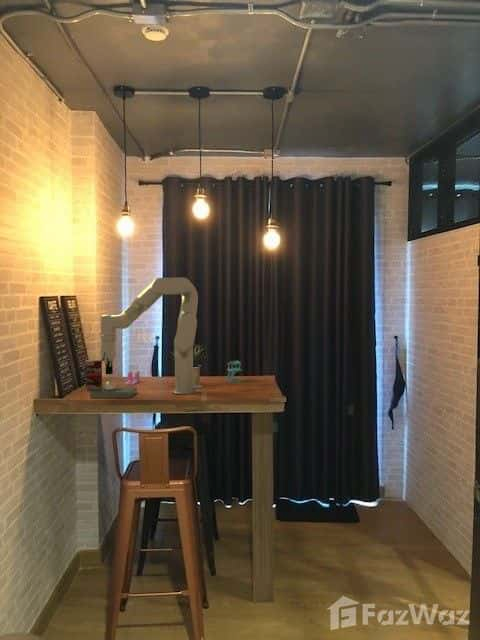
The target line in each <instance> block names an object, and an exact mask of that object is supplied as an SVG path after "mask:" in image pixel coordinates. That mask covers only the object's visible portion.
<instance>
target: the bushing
mask: <svg viewBox="0 0 480 640" xmlns="http://www.w3.org/2000/svg"><path fill="white" fill-rule="evenodd" d="M104 387H105V391H113V390H115V387H116V381H115V380H114V381H113V380H110V381H104Z"/></svg>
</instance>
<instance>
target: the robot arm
mask: <svg viewBox="0 0 480 640" xmlns="http://www.w3.org/2000/svg"><path fill="white" fill-rule="evenodd" d="M164 295H180V296H181V303H180V310H179V315H178V317H177V318H178V319H177V328H176V334H175V337H174V340H173V346H174V349H173V350H174V383H175V384H174V387H175V388H174V389H172V394H174V395H175V394H176V395H190V394H195V393H196V392H197V390H202V385H200V384H196V383H195V382H194V350H193V349H194V344H195V338H196V334H197V333H196V332H197V327H198V326H197V325H198V320H197V312H198V306H199V304H198V303H199V296H198V295H199V294H198V291H197V289H196V287H195V285H194V284H193V283H192V282H191V281H190V280H189V279H188V278H187V277H181V276H180V277H156V278H155V279H154V280H152V282H151V283H150V284H149V285H148V286H147V287H146V288H144V289H143V290H142V292H140V293H139V294H138V295H137V296H136V297H135V298H134V300H133V302H132V303H131V304H130V305H129V306H128V307H127V308H126V309H125V310H123V311H122V313H120V314H102V315H101V316H100V341H101V343H100V344H101V346H100V360H101V361H102V362H103V363H104V365H105V374H106V375H113V374H114V372H113V371H114V369H113V367H114V366H113V365H114V360H115V359H116V357H117V354H116V353H117V349H116V348H117V347H116V342H117V329H121V330H124V329H127V328H129V327H130V326H131V325H132V324H133V323H134V322H135V321H136V320H137V319H138V318H140V316H141V315H143V313H145V312H147V311H148V310H149V309H150V308H151V307H152V306H154V304H155V303H156V302H157V301H158V300H160V298H161V297H162V296H164Z"/></svg>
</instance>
